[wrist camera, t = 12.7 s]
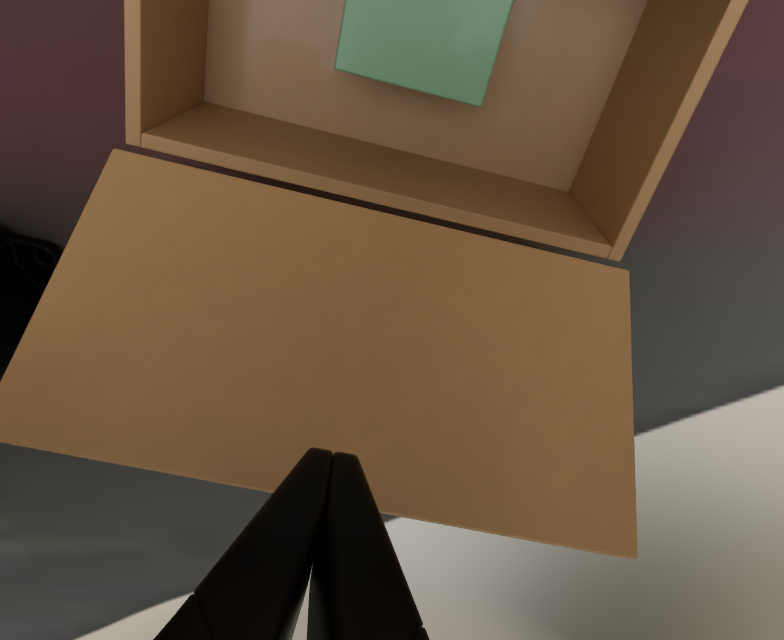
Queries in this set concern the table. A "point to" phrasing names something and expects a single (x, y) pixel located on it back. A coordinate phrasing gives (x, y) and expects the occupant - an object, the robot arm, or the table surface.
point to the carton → (436, 109)
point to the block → (424, 44)
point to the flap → (333, 355)
